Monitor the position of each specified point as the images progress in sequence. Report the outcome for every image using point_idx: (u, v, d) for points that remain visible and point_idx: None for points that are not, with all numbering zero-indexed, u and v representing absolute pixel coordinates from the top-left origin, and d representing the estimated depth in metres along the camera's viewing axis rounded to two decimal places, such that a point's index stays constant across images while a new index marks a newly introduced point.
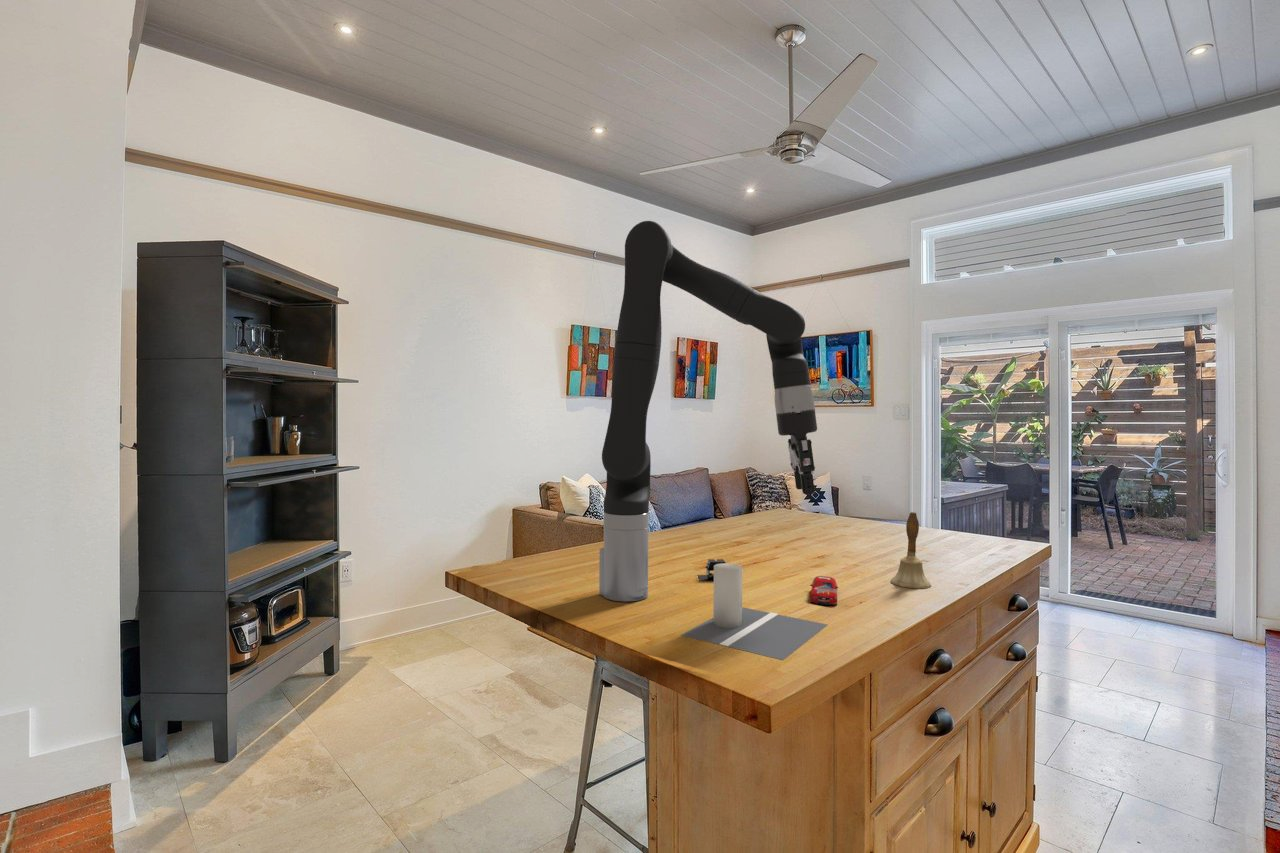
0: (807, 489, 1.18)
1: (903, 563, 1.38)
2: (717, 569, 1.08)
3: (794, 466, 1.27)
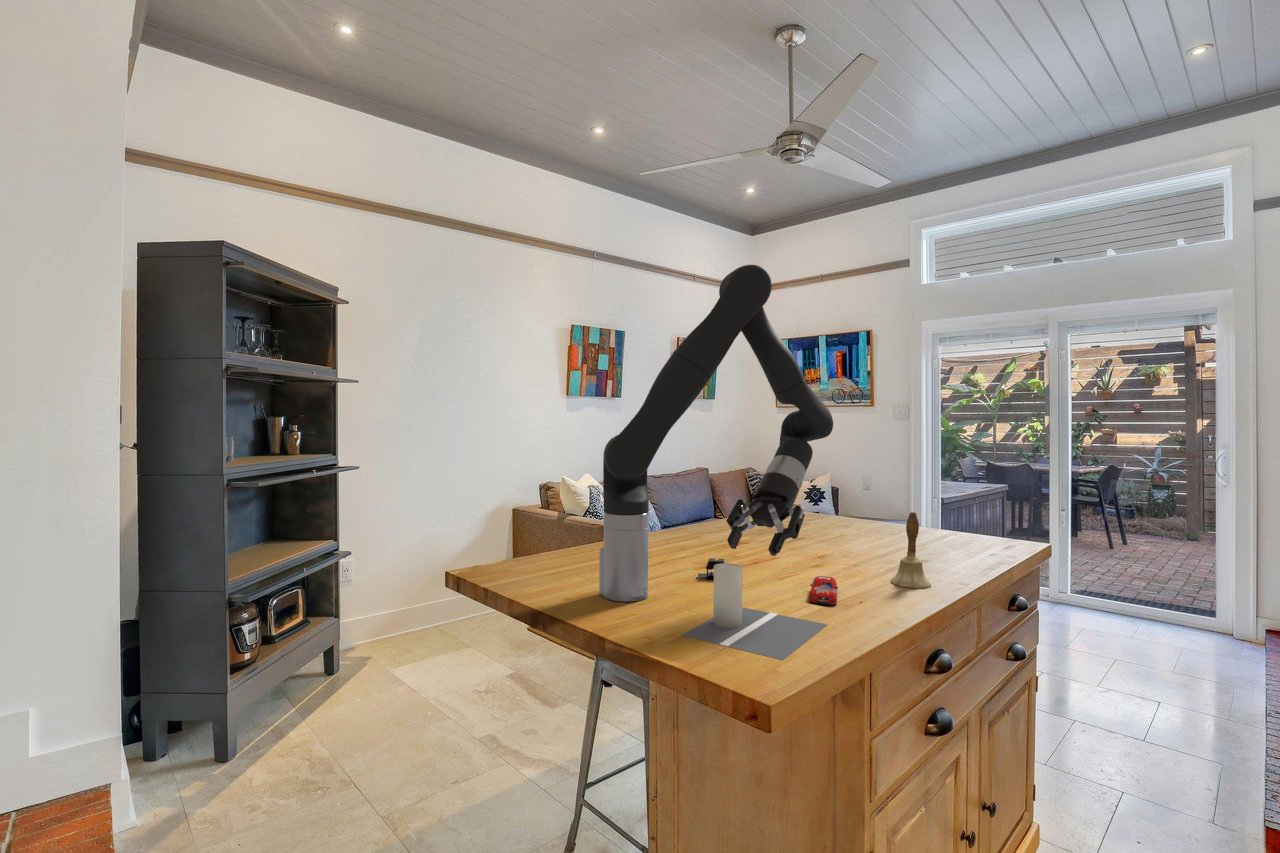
0: (777, 548, 1.13)
1: (903, 563, 1.38)
2: (717, 569, 1.08)
3: (741, 523, 1.20)
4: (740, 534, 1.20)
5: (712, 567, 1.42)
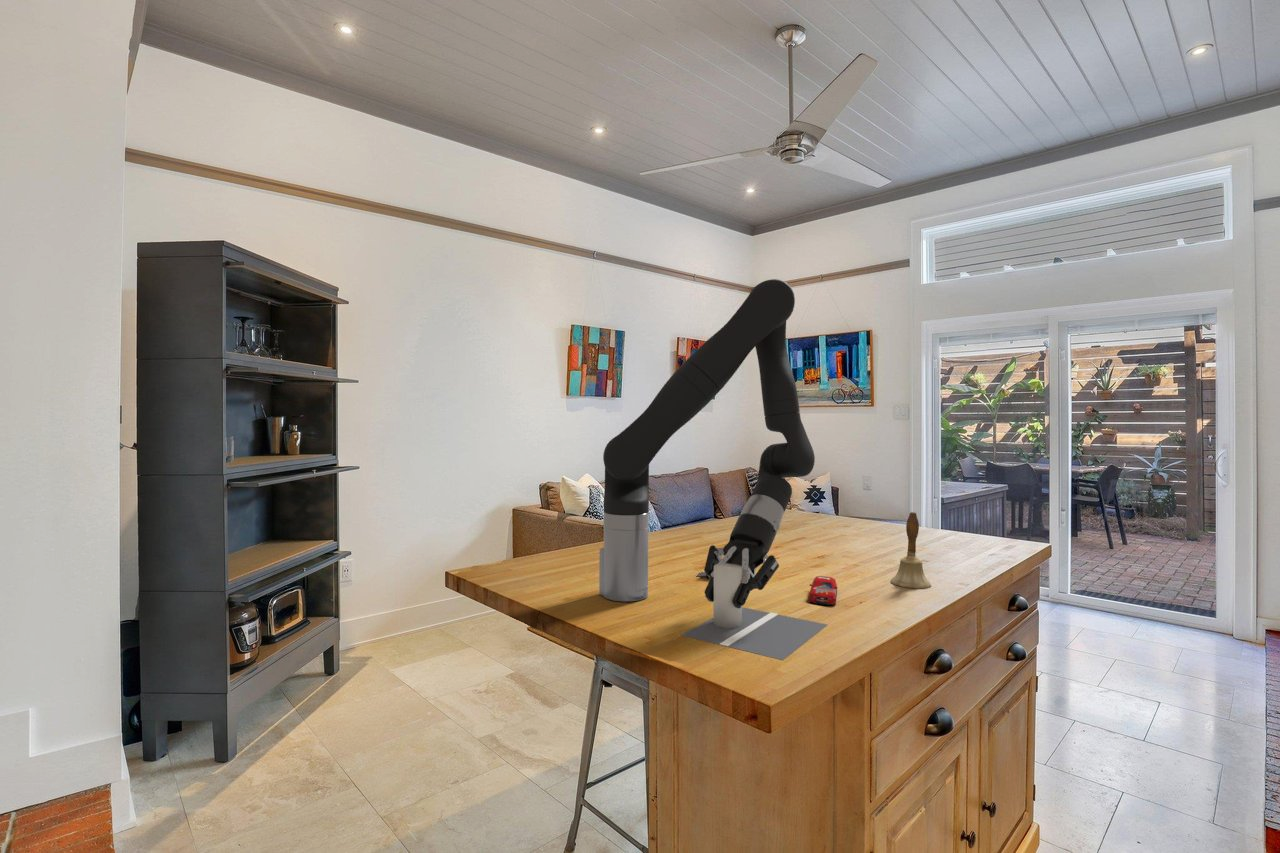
0: (742, 601, 1.06)
1: (903, 563, 1.38)
2: (717, 569, 1.08)
3: None
4: None
5: None
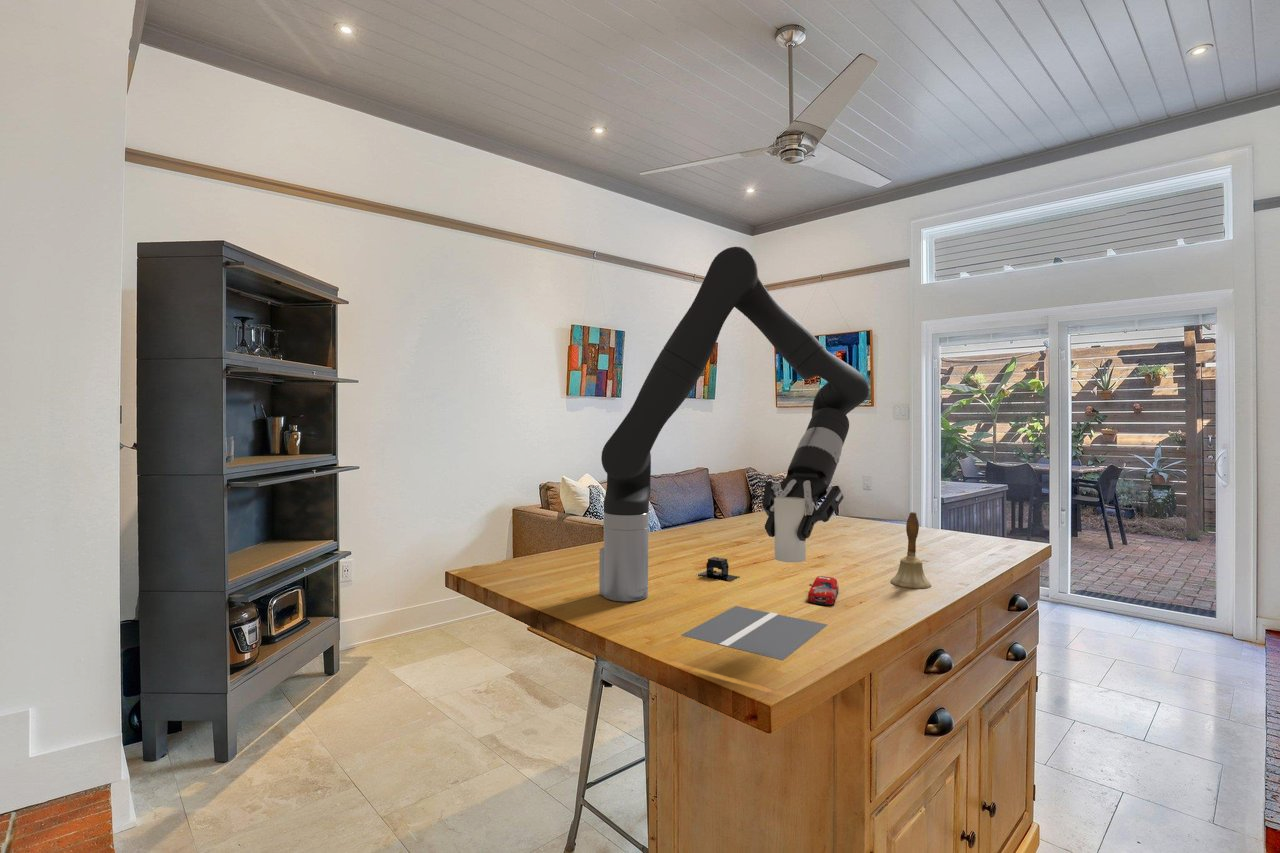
0: (807, 532, 1.00)
1: (903, 563, 1.38)
2: (779, 501, 1.02)
3: None
4: None
5: (711, 565, 1.44)
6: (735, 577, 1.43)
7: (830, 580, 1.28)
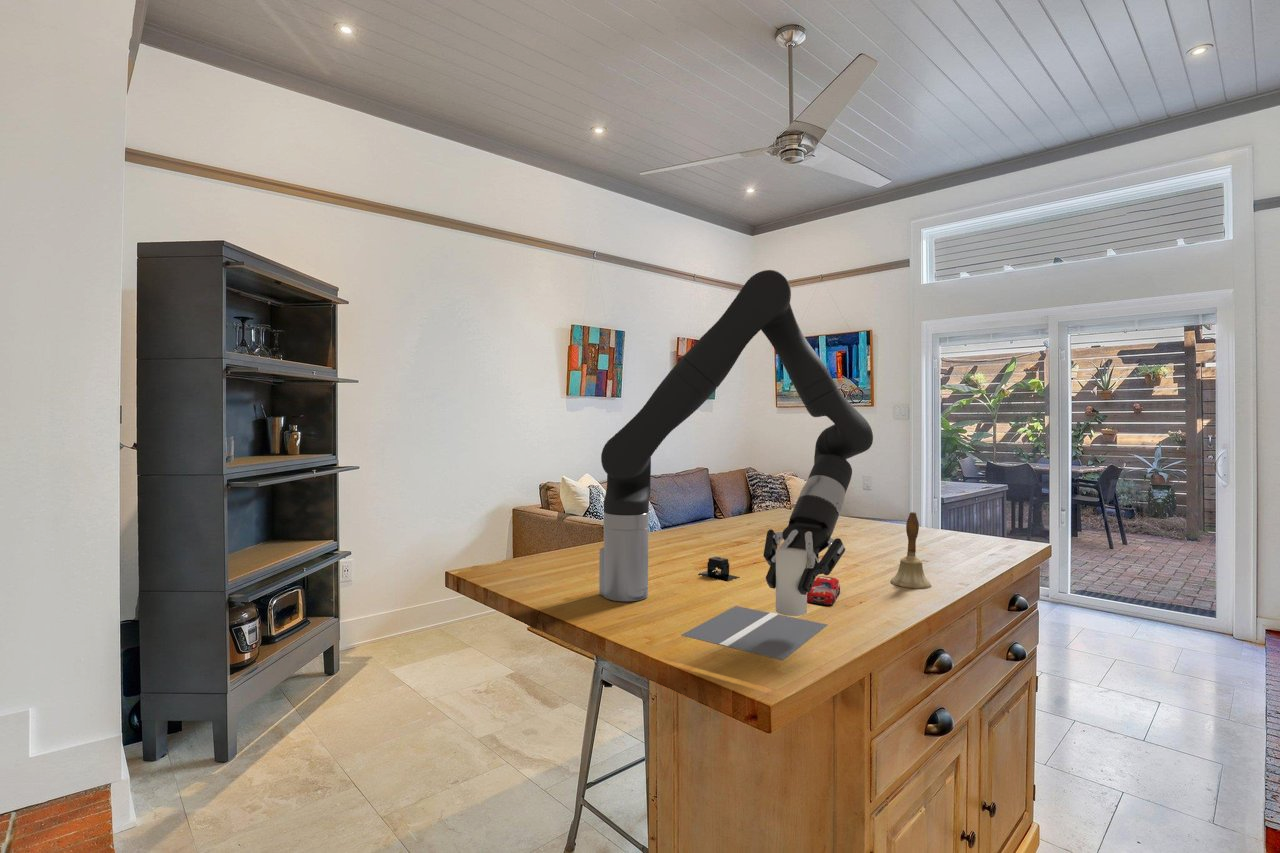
0: (808, 587, 1.00)
1: (903, 563, 1.38)
2: (780, 553, 1.02)
3: None
4: None
5: (711, 565, 1.44)
6: (735, 577, 1.43)
7: (830, 580, 1.27)
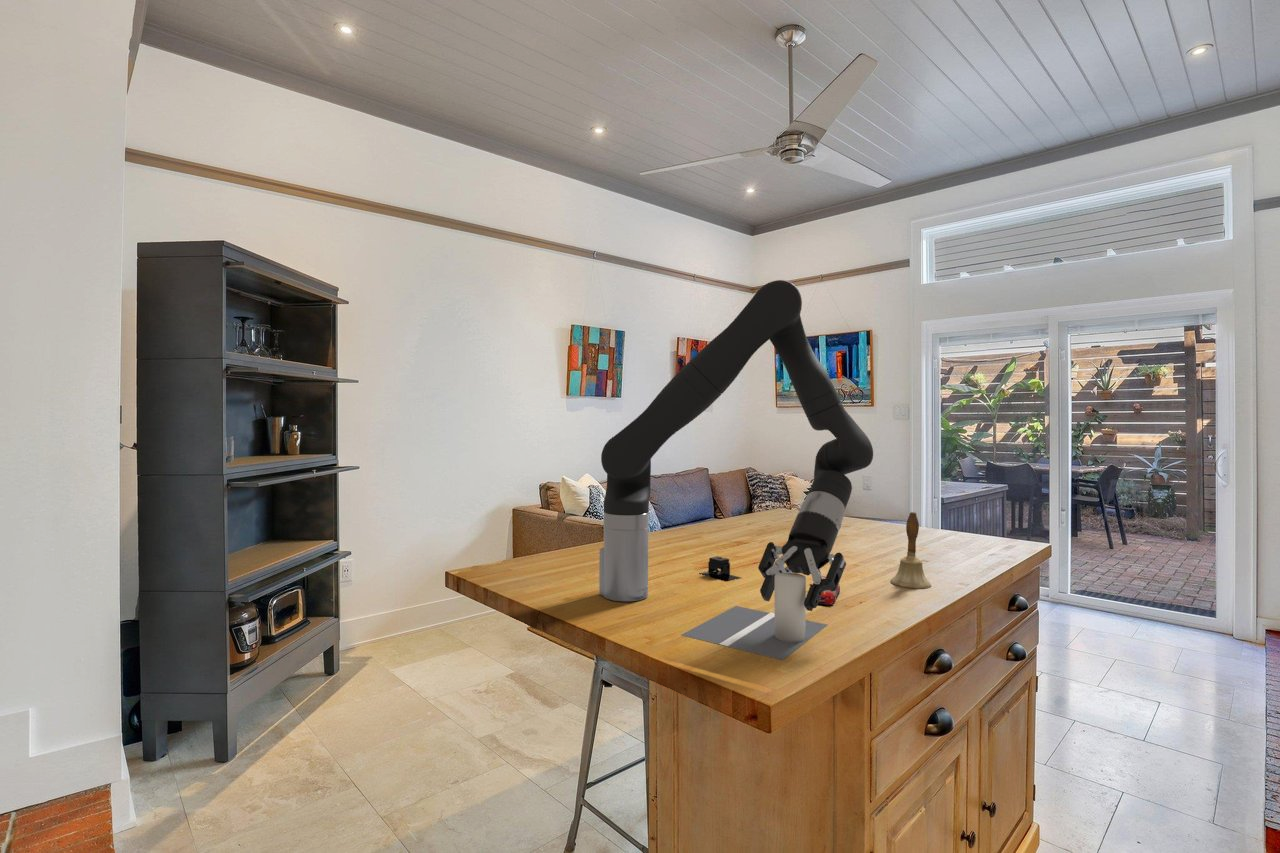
0: (814, 603, 0.99)
1: (903, 563, 1.38)
2: (779, 579, 1.02)
3: (775, 571, 1.06)
4: (774, 584, 1.06)
5: (712, 564, 1.45)
6: (735, 577, 1.43)
7: None
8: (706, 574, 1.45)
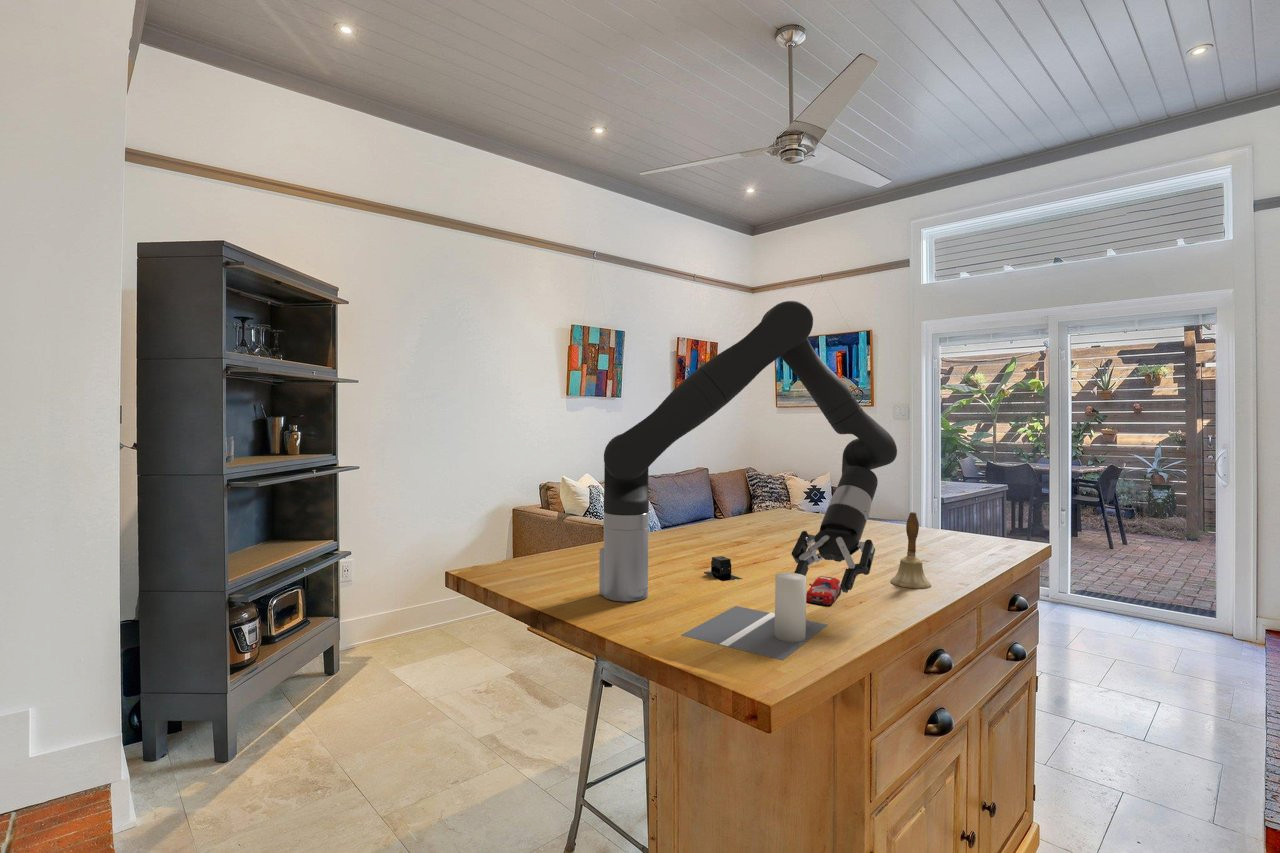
0: (850, 585, 1.09)
1: (903, 563, 1.38)
2: (780, 579, 1.02)
3: (808, 557, 1.16)
4: (807, 568, 1.17)
5: (714, 564, 1.46)
6: (735, 578, 1.42)
7: (830, 580, 1.27)
8: (708, 573, 1.46)
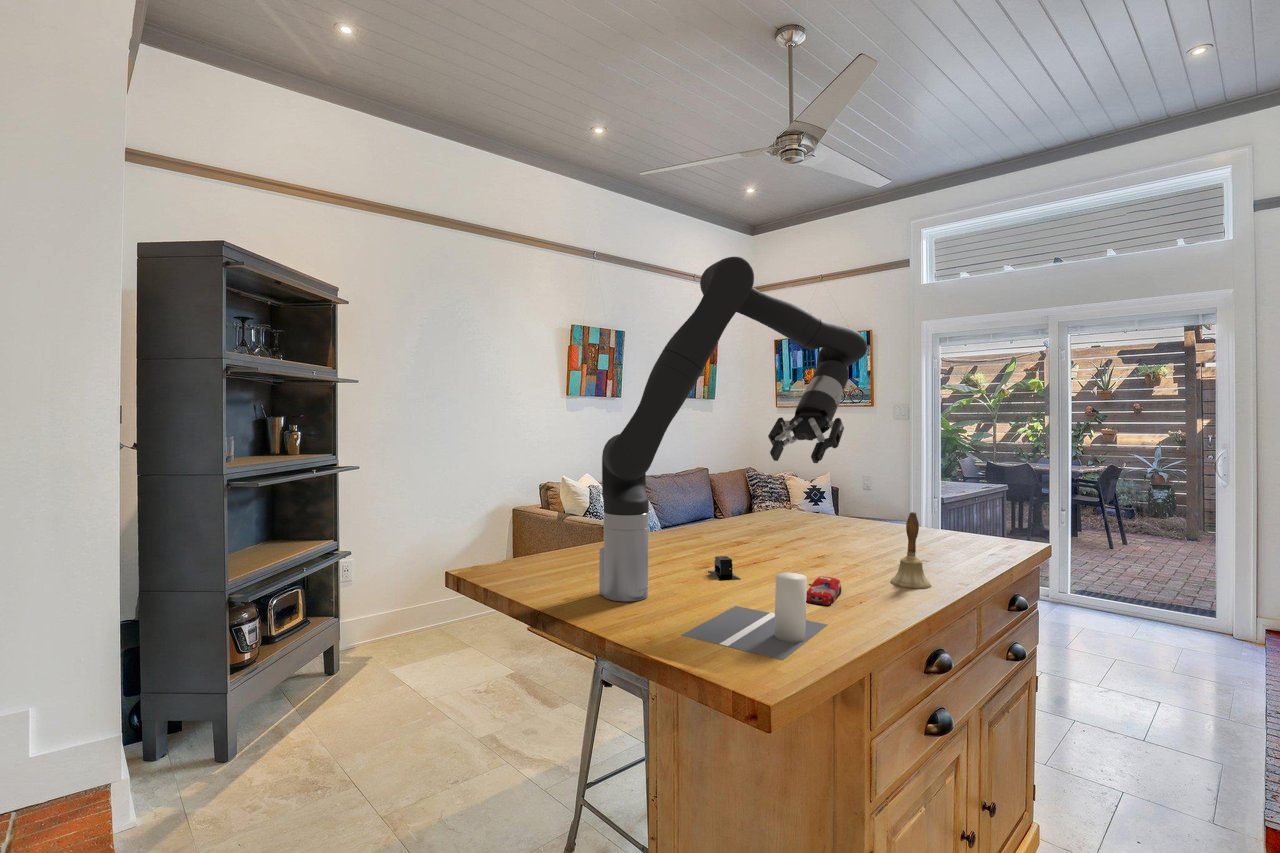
0: (820, 456, 1.19)
1: (903, 563, 1.38)
2: (781, 580, 1.01)
3: (783, 437, 1.26)
4: (782, 448, 1.27)
5: (716, 563, 1.46)
6: (734, 578, 1.42)
7: (830, 580, 1.27)
8: (712, 572, 1.47)
